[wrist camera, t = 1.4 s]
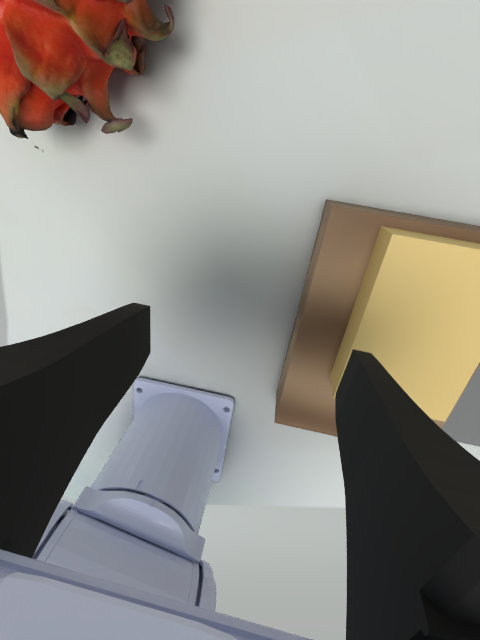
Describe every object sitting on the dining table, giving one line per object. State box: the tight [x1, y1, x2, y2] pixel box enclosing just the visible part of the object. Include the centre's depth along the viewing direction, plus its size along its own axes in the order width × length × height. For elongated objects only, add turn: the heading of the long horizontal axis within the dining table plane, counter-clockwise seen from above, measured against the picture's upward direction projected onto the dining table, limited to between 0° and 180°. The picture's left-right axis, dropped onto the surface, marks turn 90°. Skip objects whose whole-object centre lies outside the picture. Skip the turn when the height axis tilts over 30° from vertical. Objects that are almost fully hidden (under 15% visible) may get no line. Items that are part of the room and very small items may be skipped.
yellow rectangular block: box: [330, 226, 480, 422], centre depth 17 cm, size 9×6×2 cm, turn 171°
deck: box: [275, 200, 480, 437], centre depth 20 cm, size 14×10×3 cm
